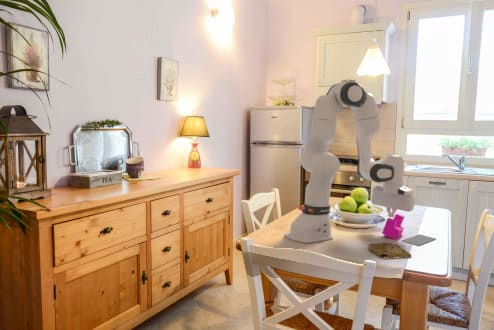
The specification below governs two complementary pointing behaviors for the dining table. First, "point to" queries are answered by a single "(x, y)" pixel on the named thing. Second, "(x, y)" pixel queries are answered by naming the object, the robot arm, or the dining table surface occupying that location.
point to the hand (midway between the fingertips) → (390, 216)
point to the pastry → (388, 250)
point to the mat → (419, 240)
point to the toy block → (394, 226)
